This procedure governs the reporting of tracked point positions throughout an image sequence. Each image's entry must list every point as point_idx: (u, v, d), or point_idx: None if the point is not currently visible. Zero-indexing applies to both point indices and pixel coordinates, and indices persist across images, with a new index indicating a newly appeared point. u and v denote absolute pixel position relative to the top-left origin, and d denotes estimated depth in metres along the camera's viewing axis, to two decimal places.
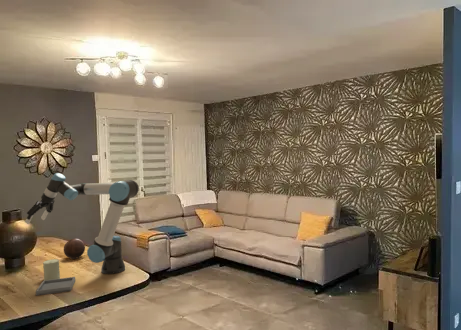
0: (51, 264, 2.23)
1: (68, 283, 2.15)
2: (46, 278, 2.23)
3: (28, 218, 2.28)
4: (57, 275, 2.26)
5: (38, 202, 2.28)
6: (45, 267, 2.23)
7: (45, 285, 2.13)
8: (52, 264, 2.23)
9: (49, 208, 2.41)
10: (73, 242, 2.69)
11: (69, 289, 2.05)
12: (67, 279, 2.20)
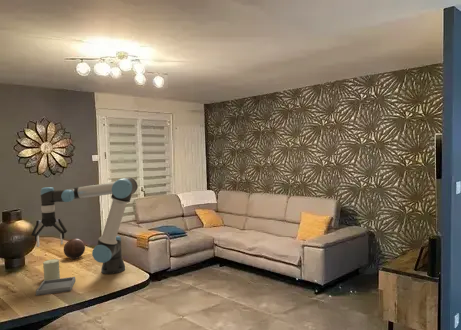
0: (51, 264, 2.23)
1: (68, 283, 2.15)
2: (46, 278, 2.23)
3: (35, 240, 2.24)
4: (57, 275, 2.26)
5: (37, 220, 2.24)
6: (45, 267, 2.23)
7: (45, 285, 2.13)
8: (52, 264, 2.23)
9: (58, 228, 2.27)
10: (73, 242, 2.69)
11: (69, 289, 2.05)
12: (67, 279, 2.20)
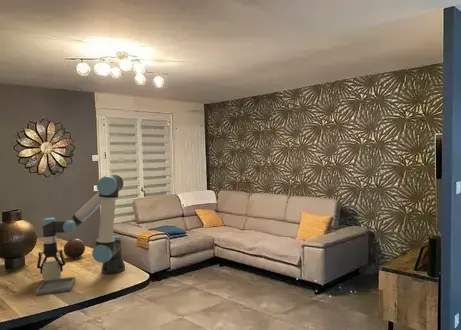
0: (51, 264, 2.23)
1: (68, 283, 2.15)
2: (46, 278, 2.23)
3: (40, 272, 2.25)
4: (57, 275, 2.26)
5: None
6: (45, 267, 2.23)
7: (45, 285, 2.13)
8: (52, 264, 2.23)
9: (58, 261, 2.27)
10: (73, 242, 2.69)
11: (69, 289, 2.05)
12: (67, 279, 2.20)
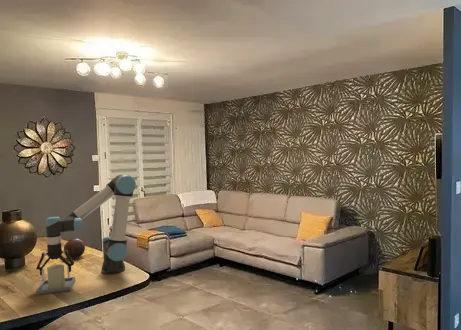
0: (56, 270, 2.07)
1: (68, 283, 2.15)
2: (50, 285, 2.07)
3: (40, 273, 2.09)
4: (62, 282, 2.10)
5: (42, 253, 2.09)
6: (49, 273, 2.07)
7: (45, 285, 2.13)
8: (57, 270, 2.08)
9: (65, 261, 2.11)
10: (73, 242, 2.69)
11: (69, 289, 2.05)
12: (67, 279, 2.20)
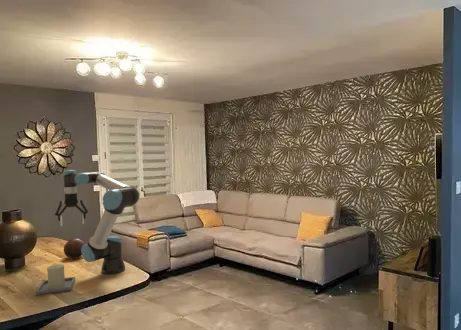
0: (56, 270, 2.07)
1: (68, 283, 2.15)
2: (50, 285, 2.07)
3: (58, 219, 2.37)
4: (62, 282, 2.10)
5: (60, 201, 2.38)
6: (49, 273, 2.07)
7: (45, 285, 2.13)
8: (57, 270, 2.08)
9: (80, 209, 2.40)
10: (73, 242, 2.69)
11: (69, 289, 2.05)
12: (67, 279, 2.20)
